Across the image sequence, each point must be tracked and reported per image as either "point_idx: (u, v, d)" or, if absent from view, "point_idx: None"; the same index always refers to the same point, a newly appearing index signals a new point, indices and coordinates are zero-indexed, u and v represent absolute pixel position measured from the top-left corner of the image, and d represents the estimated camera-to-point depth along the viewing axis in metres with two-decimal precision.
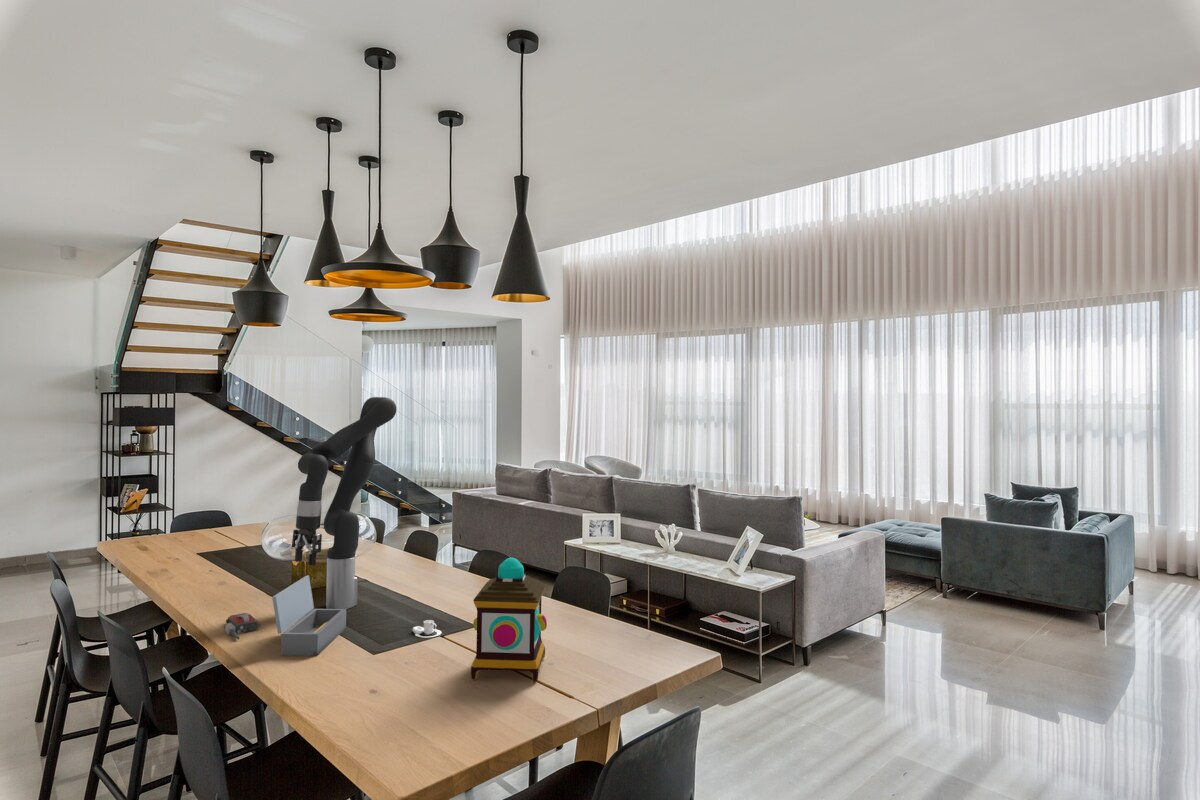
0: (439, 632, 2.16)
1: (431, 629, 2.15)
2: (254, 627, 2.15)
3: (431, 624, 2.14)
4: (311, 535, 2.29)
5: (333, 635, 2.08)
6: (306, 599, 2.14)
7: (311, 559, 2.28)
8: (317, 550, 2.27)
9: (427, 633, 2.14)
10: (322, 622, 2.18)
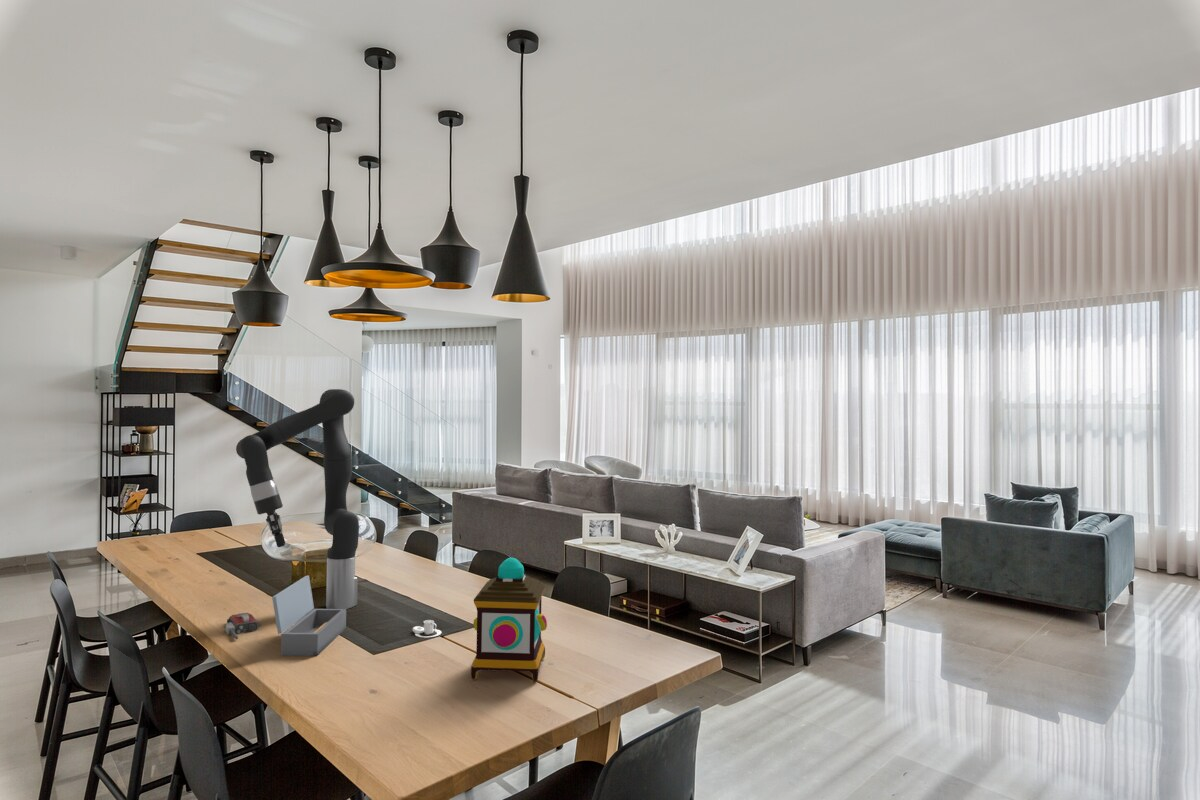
0: (439, 632, 2.16)
1: (431, 629, 2.15)
2: (254, 627, 2.15)
3: (431, 624, 2.15)
4: None
5: (333, 635, 2.08)
6: (306, 599, 2.14)
7: (277, 541, 2.16)
8: (276, 531, 2.14)
9: (427, 633, 2.14)
10: (322, 622, 2.18)
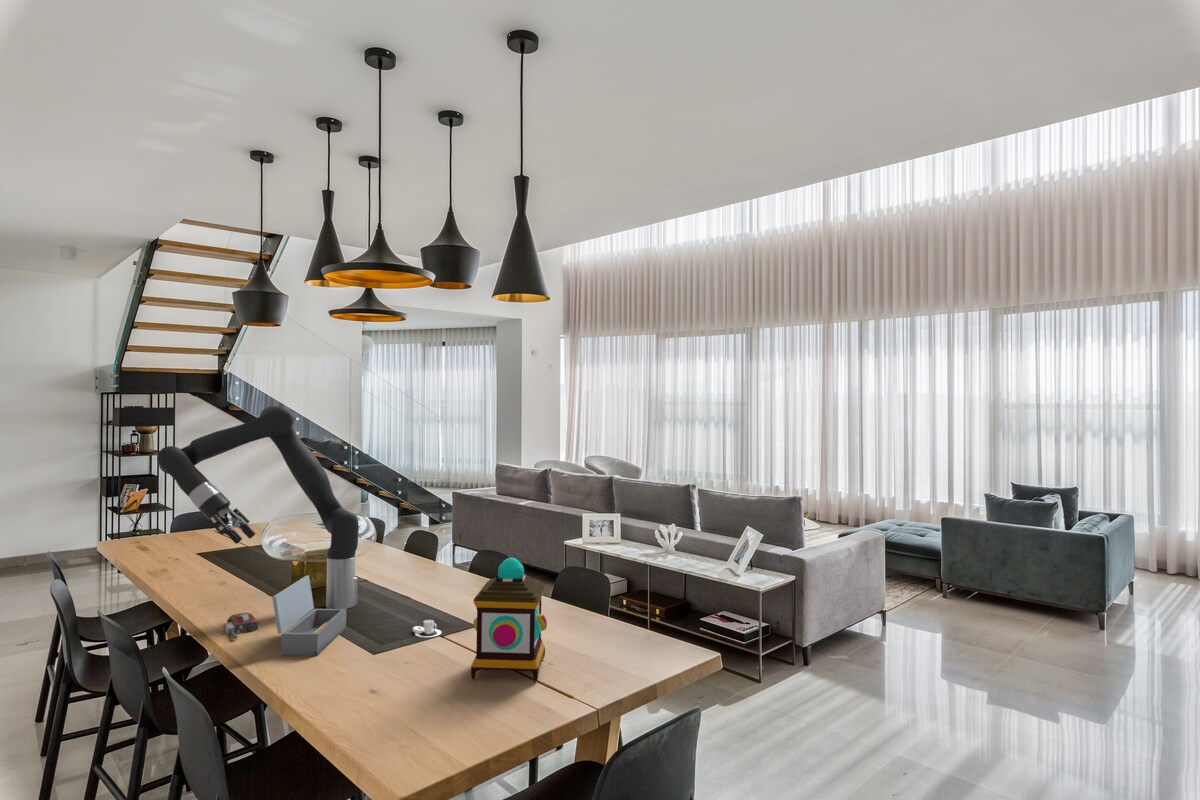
0: (439, 632, 2.16)
1: (431, 629, 2.15)
2: (253, 627, 2.15)
3: (431, 624, 2.15)
4: None
5: (333, 635, 2.08)
6: (306, 599, 2.14)
7: (231, 538, 2.06)
8: (222, 530, 2.04)
9: (427, 633, 2.14)
10: (322, 622, 2.18)
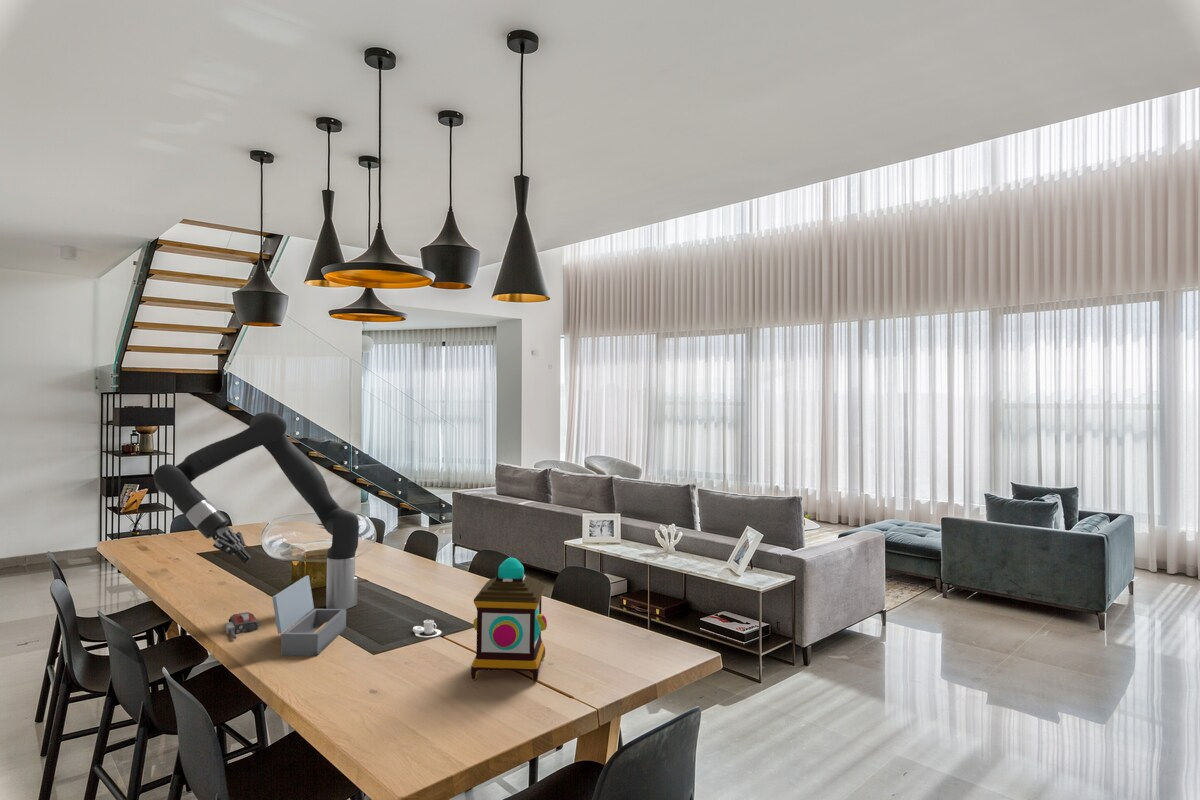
0: (439, 632, 2.16)
1: (431, 629, 2.15)
2: (253, 627, 2.15)
3: (431, 624, 2.15)
4: None
5: (333, 635, 2.08)
6: (306, 599, 2.14)
7: (240, 558, 2.05)
8: (231, 551, 2.03)
9: (427, 633, 2.15)
10: (322, 622, 2.18)
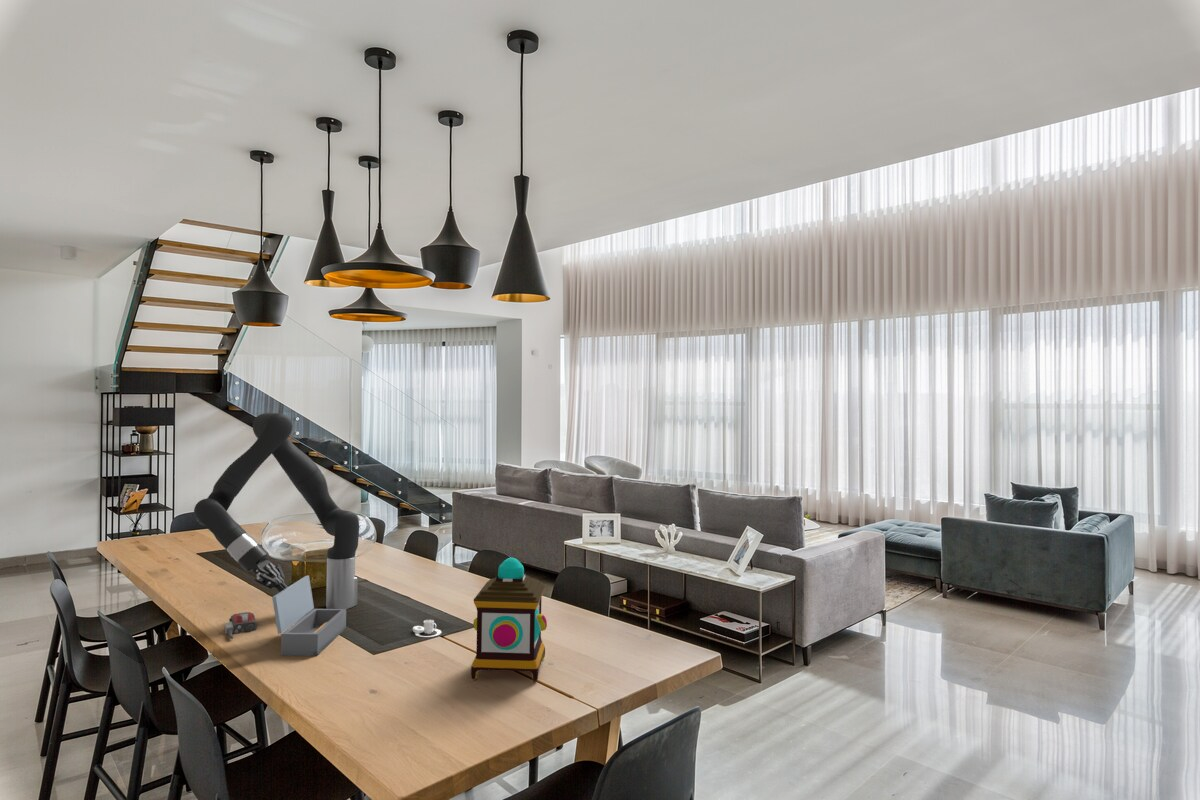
0: (439, 632, 2.17)
1: (431, 629, 2.15)
2: (252, 627, 2.15)
3: (431, 624, 2.15)
4: (256, 574, 2.03)
5: (333, 635, 2.08)
6: (306, 599, 2.14)
7: (280, 591, 2.06)
8: (272, 585, 2.04)
9: (427, 633, 2.15)
10: (322, 622, 2.18)
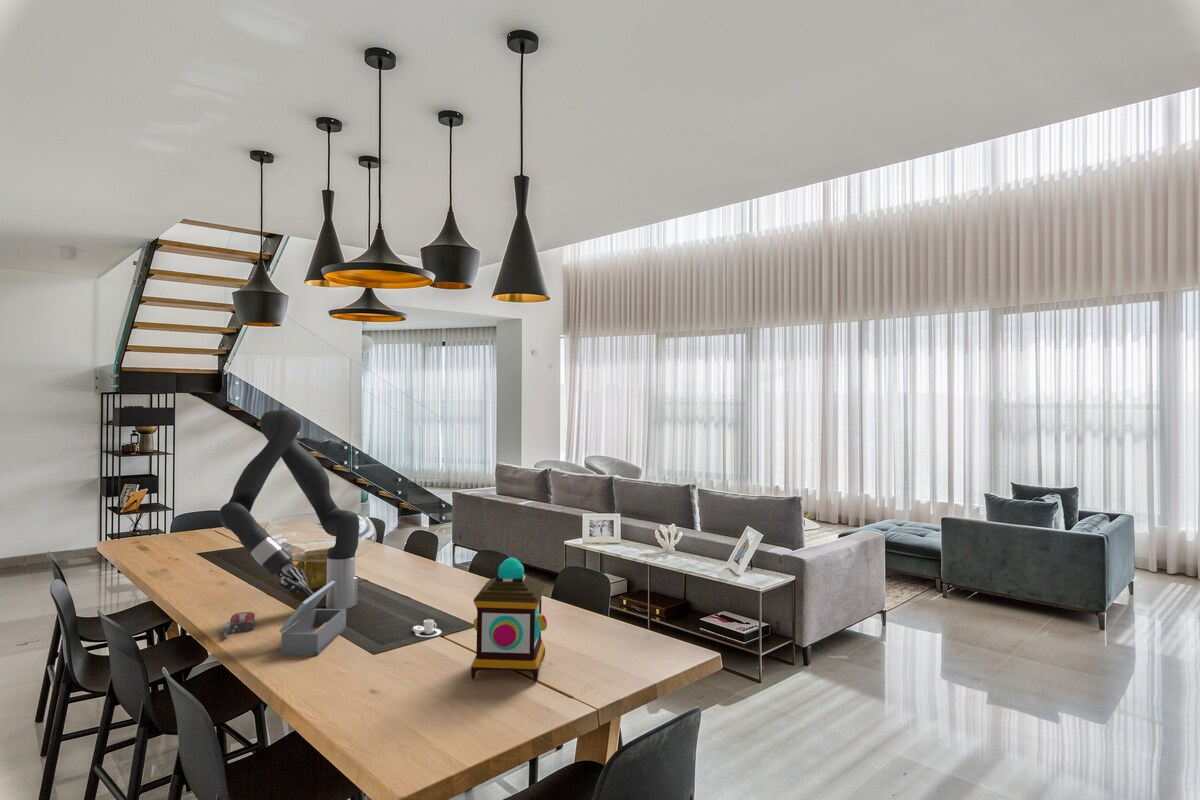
0: (439, 631, 2.17)
1: (431, 628, 2.15)
2: (248, 627, 2.14)
3: (431, 623, 2.15)
4: (280, 578, 2.03)
5: (333, 635, 2.08)
6: (316, 602, 2.14)
7: (304, 595, 2.06)
8: (296, 589, 2.04)
9: (427, 632, 2.15)
10: (322, 622, 2.18)
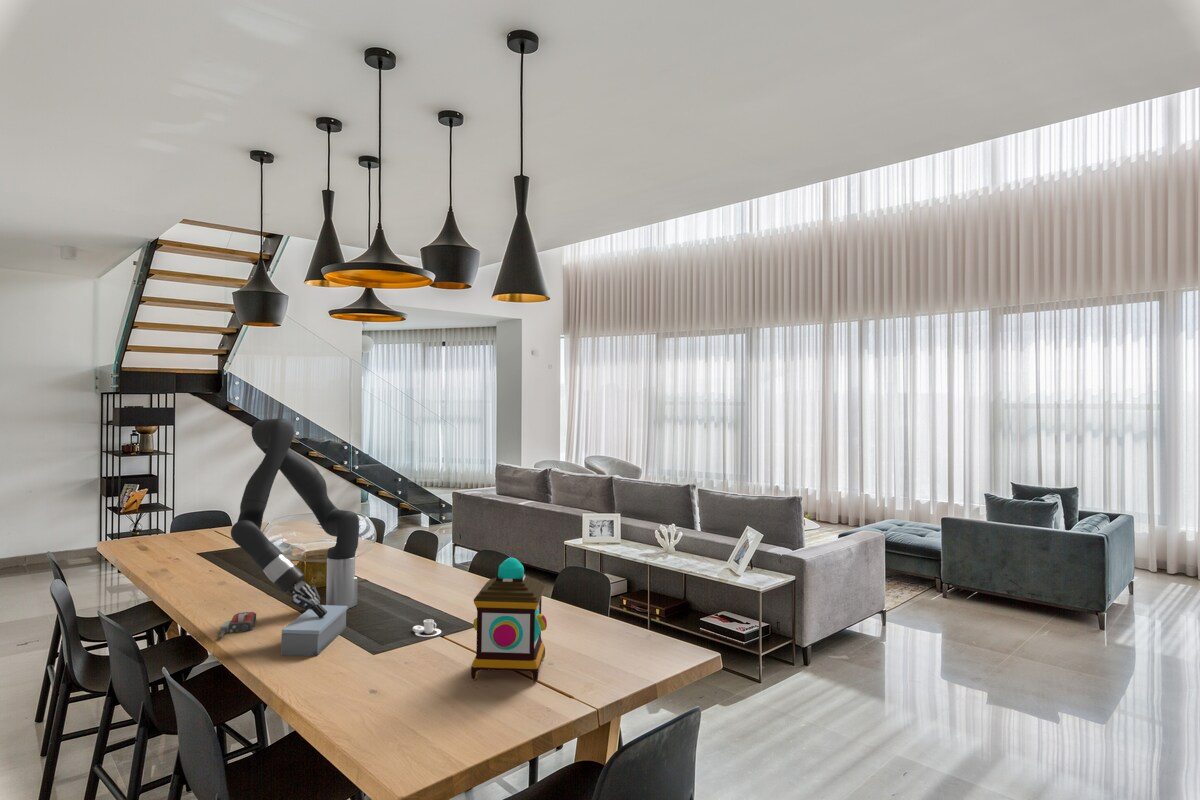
0: (439, 631, 2.17)
1: (431, 628, 2.15)
2: (246, 628, 2.14)
3: (431, 623, 2.15)
4: (293, 596, 2.03)
5: (333, 635, 2.08)
6: None
7: None
8: (309, 606, 2.04)
9: (427, 632, 2.15)
10: None
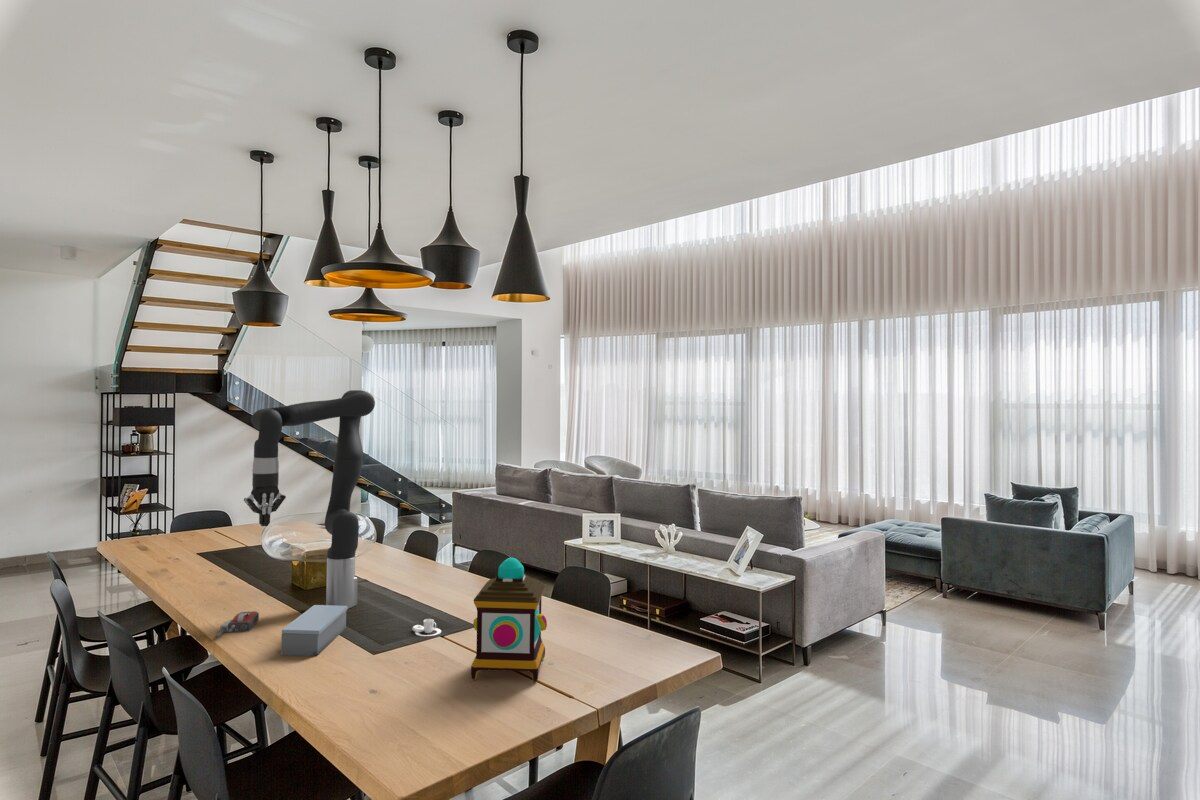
0: (439, 631, 2.17)
1: (431, 628, 2.16)
2: (245, 627, 2.14)
3: (431, 623, 2.16)
4: None
5: (333, 635, 2.08)
6: None
7: None
8: (255, 511, 2.20)
9: (427, 632, 2.16)
10: None
